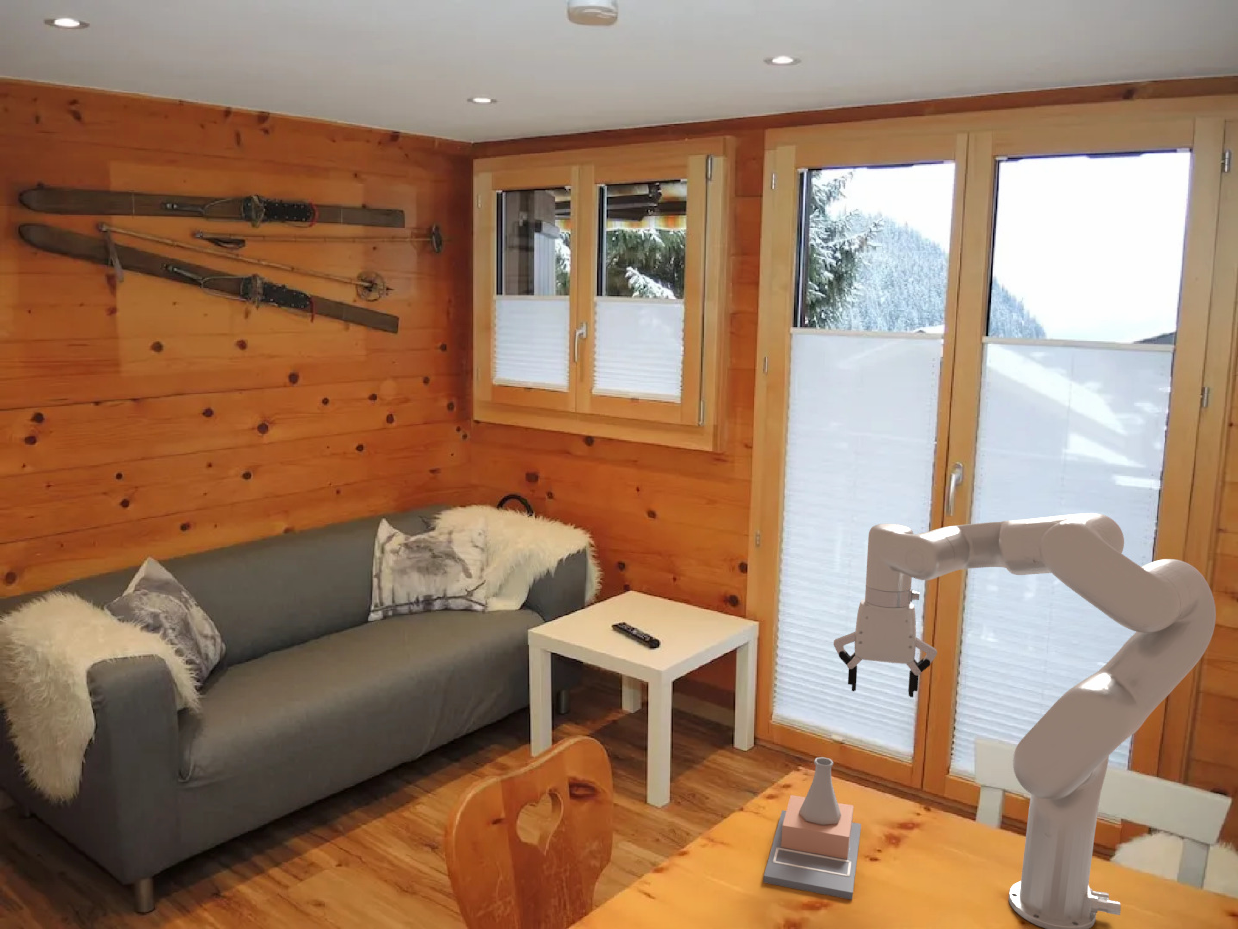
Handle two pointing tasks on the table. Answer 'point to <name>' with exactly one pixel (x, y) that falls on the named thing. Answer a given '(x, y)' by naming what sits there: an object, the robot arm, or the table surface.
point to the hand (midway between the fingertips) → (882, 691)
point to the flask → (821, 796)
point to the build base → (814, 852)
